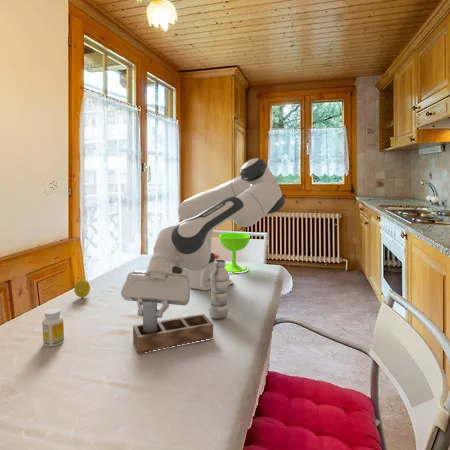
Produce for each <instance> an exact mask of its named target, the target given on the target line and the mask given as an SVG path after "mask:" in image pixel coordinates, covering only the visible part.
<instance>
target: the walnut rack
mask: <svg viewBox="0 0 450 450" xmlns="http://www.w3.org/2000/svg"><path fill="white" fill-rule="evenodd" d="M211 338H213V339H214V323H213V322H212V321H211V320H210V319H209V318H208V317H207V316H206V315H205V314H204V313H199V314H193V315H187V316H181V317H176V318H169V319H163V320H157V331H156V332H154V333H145V332H143V323H138V324H132V341H133V345H134V344H135V345H134V347H135V350H136V349H137V350H136V352H137V355H138V354H140V353H145V352H149V351H153V350H158V349H163V348H167V347H172V346H177V345H182V344H187V343H192V342H196V341H201V340H206V339H211ZM145 354H146V353H145ZM140 355H141V354H140Z"/></svg>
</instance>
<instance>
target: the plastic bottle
mask: <svg viewBox="0 0 450 450" xmlns="http://www.w3.org/2000/svg"><path fill="white" fill-rule="evenodd" d="M225 264H226V260H224V259H215V261H214V267H215V268H214V270H213V271H212V272H211V275H210V282H211V289H210V291H211V293H210V296H211V297H210V303H209V307H208V313H209V314H208V315H209V316H210V317H211V318H212V319H214V320H221V319H225V318H226V317H227V316H228V314H229V305H228V289H229V288H228V287H229V285H228V282H229V278H230V274H228V272H227V270H226V269H225V267H226V265H225Z"/></svg>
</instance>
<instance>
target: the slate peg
mask: <svg viewBox="0 0 450 450" xmlns="http://www.w3.org/2000/svg"><path fill="white" fill-rule="evenodd" d="M142 308H143V316H142V324H143V332H145V333H154V332H156V331H157V321H158V318H157V317H156V316H155V314H156V311H157V310H158V303H157V302H156V301H145V302H143V305H142Z"/></svg>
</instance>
